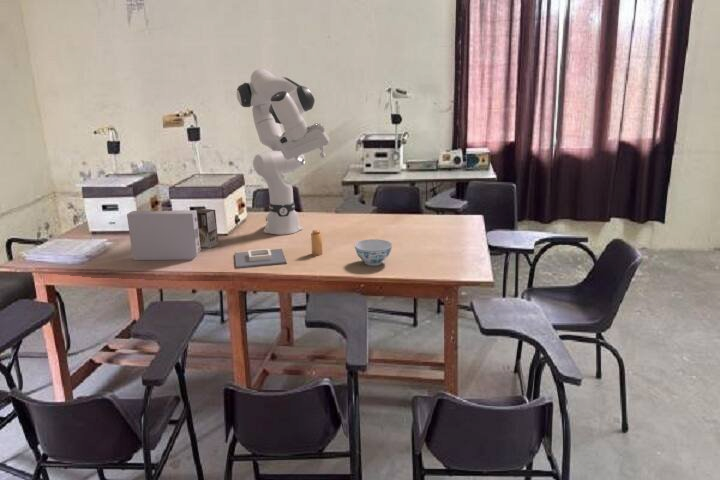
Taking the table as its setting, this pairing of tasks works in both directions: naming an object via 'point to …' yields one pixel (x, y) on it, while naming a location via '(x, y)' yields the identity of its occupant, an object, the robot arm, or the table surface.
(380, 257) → the chinaware
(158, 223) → the game console
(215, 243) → the coffee box
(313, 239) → the orange cylinder
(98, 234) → the table surface
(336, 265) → the table surface
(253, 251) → the holder
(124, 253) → the table surface
